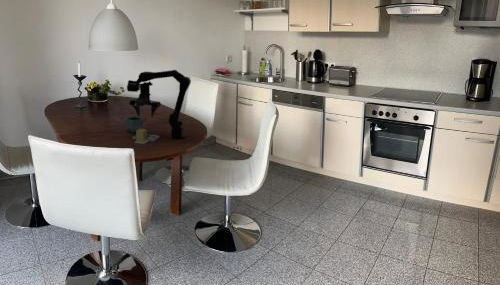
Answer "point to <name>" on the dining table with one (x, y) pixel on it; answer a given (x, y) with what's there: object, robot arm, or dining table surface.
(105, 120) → the dining table surface
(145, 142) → the pad
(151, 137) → the grey flat frame
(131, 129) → the flower pot
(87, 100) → the dining table surface
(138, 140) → the brown wooden block
